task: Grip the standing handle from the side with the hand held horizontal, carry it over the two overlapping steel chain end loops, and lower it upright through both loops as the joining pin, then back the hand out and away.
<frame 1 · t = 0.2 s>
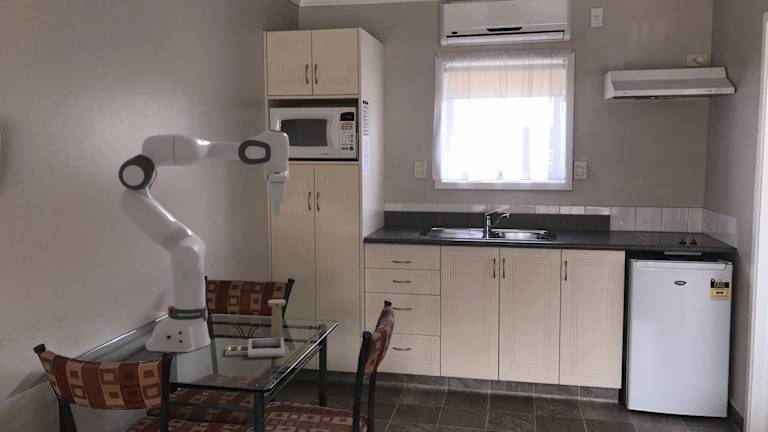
hand: (276, 213, 238), 48 cm above the table, tool pointing down, fingers open, 8 cm apart
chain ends: (266, 350, 233), on the table
handle: (276, 340, 245), on the table
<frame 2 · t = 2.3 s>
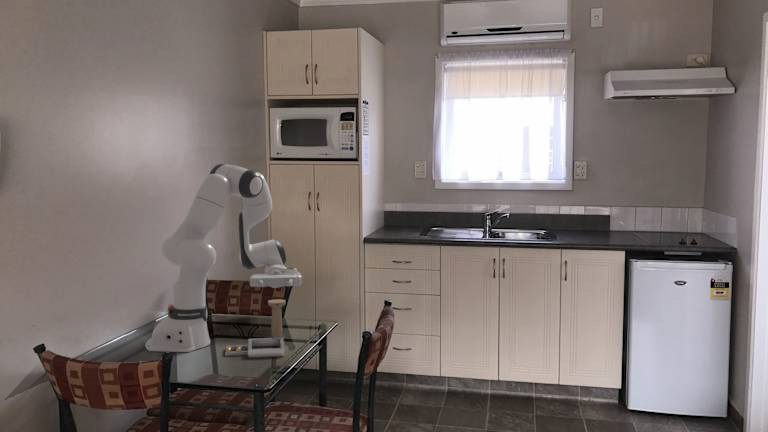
hand: (276, 284, 254), 18 cm above the table, tool horizontal, fingers open, 8 cm apart
nothing on the table moved.
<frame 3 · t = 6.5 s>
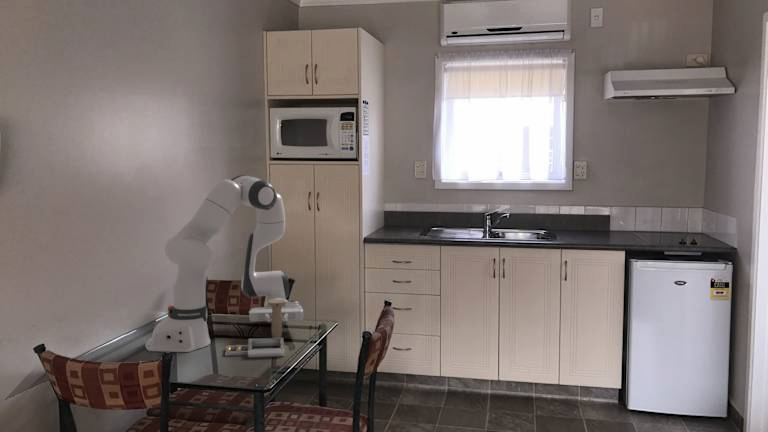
hand: (276, 320, 243), 8 cm above the table, tool horizontal, fingers closed on handle, 3 cm apart
handle: (276, 340, 245), on the table, touching gripper
when the fingers open (9 cm above the table, at t = 10.9 s): handle stays where it is, resting in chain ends.
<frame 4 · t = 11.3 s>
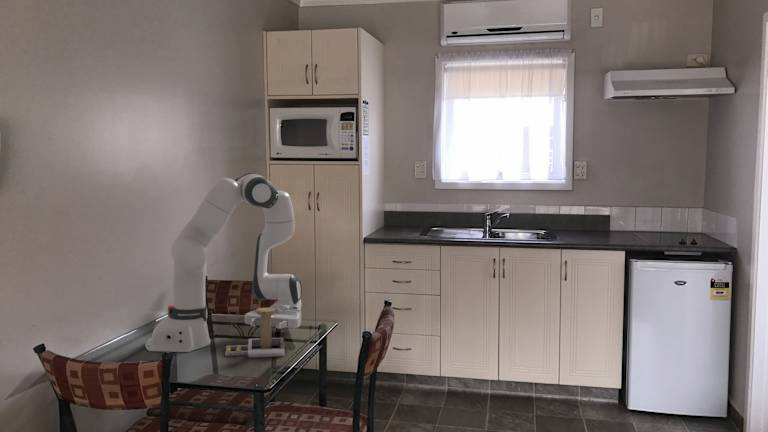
hand: (265, 325, 231), 9 cm above the table, tool horizontal, fingers open, 8 cm apart
handle: (266, 351, 233), resting in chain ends
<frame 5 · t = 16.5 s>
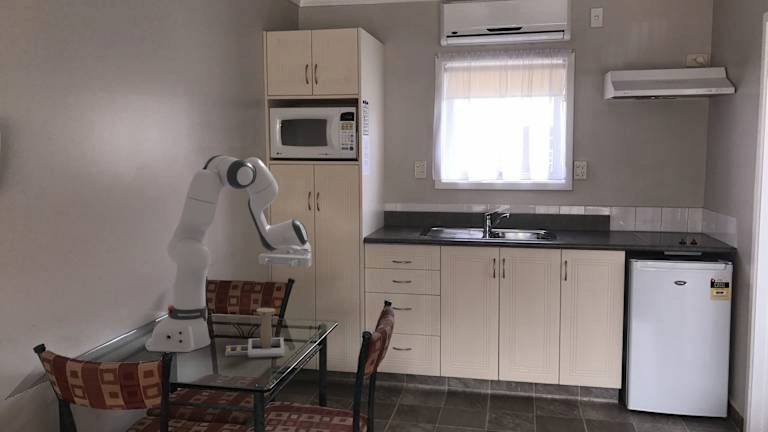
hand: (278, 263, 246), 28 cm above the table, tool horizontal, fingers open, 8 cm apart
nothing on the table moved.
at the end: handle 0.1 cm off-centre on the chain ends, point 0.0 cm above the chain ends's base; handle tilted 0°; the gripper is holding nothing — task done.
